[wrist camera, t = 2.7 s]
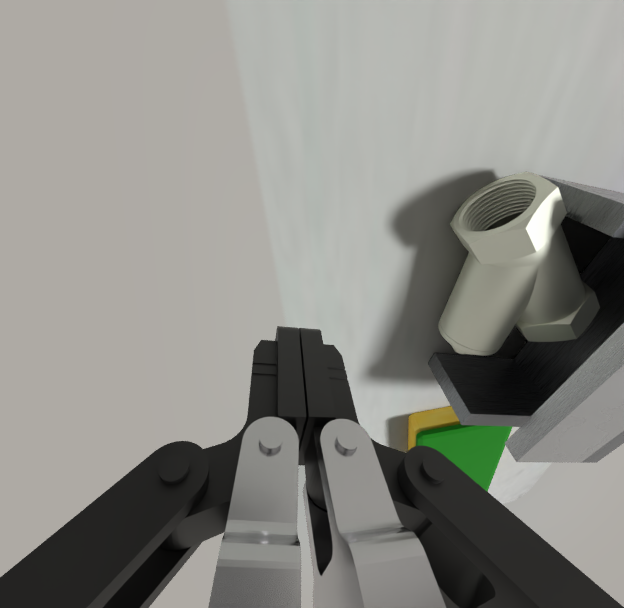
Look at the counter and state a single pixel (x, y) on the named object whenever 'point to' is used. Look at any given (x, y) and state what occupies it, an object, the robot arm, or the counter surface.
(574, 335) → the pipe fitting
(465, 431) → the dish sponge
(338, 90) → the counter surface
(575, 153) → the counter surface
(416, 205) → the counter surface
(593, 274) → the bracket
